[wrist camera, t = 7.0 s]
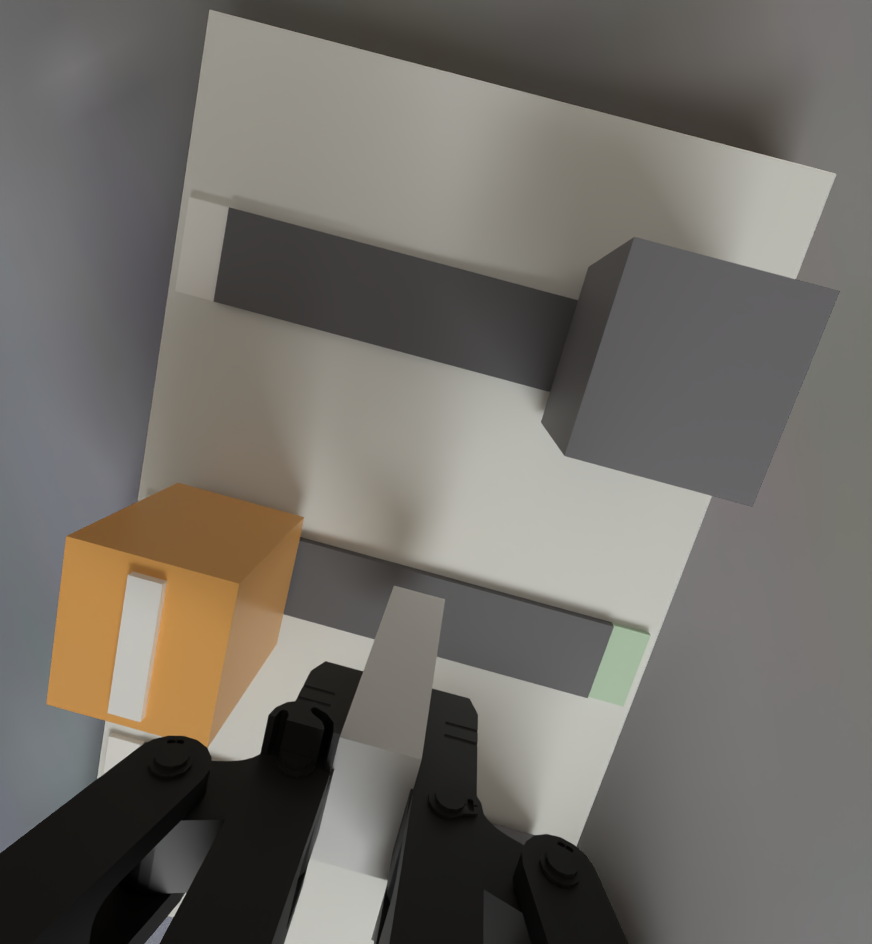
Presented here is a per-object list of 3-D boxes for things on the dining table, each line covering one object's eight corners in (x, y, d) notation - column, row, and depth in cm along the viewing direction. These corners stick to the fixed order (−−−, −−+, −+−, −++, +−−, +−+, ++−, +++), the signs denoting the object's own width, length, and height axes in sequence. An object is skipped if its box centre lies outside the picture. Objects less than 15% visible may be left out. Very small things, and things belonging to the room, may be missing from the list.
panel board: (119, 837, 25) (-37, 1053, 18) (245, 53, 18) (77, -151, 11) (508, 947, 25) (521, 1215, 17) (787, 196, 18) (1013, 92, 10)
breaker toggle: (157, 610, 19) (40, 709, 14) (177, 482, 18) (60, 539, 13) (277, 643, 19) (202, 754, 14) (304, 517, 18) (235, 587, 13)
